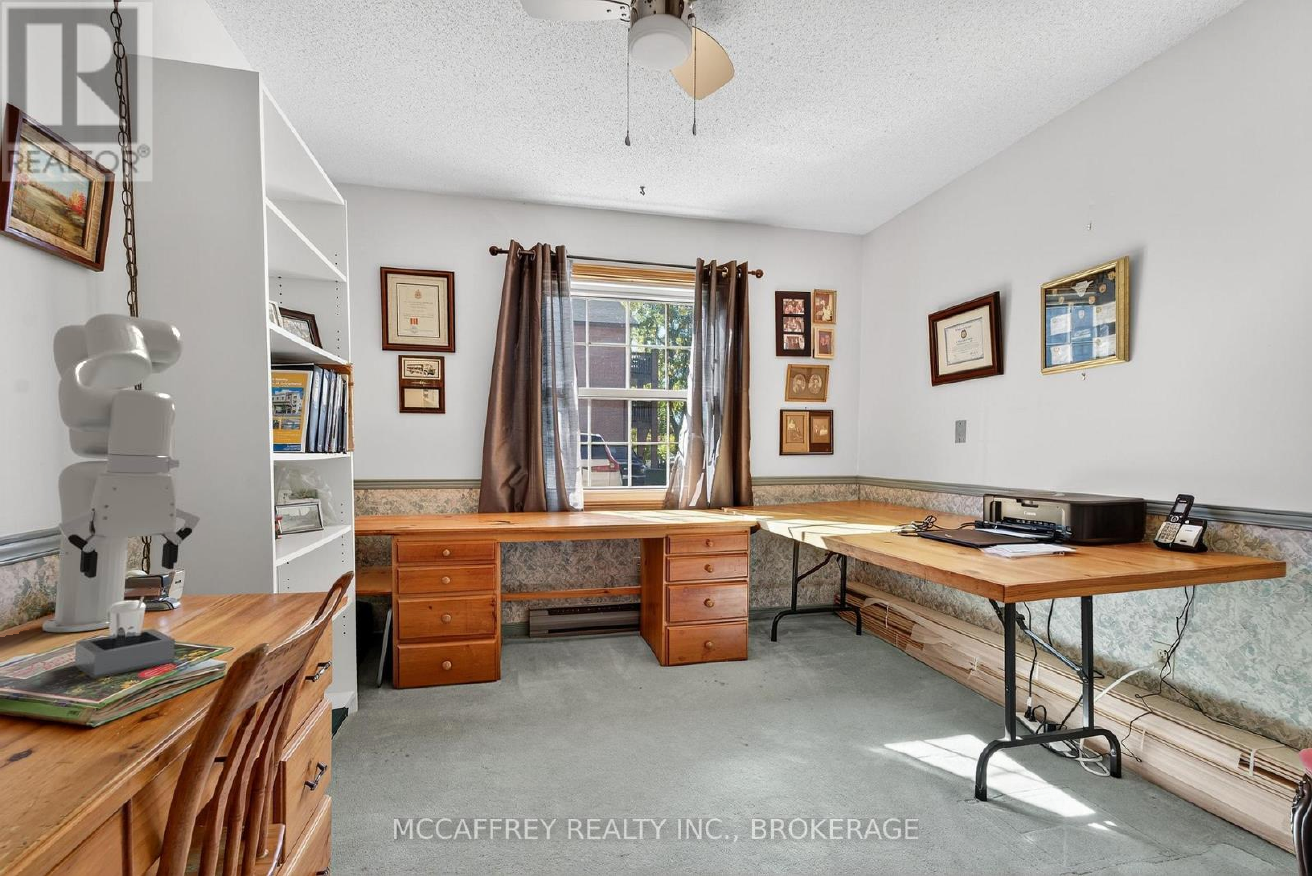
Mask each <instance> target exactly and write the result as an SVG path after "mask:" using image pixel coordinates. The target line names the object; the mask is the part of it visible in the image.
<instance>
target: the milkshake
mask: <svg viewBox="0 0 1312 876" xmlns="http://www.w3.org/2000/svg"><path fill="white" fill-rule="evenodd" d="M144 599H145V596H140V599H139V600H137V599H135V600H124V601H121V602H118V603H114V604H113V605H111V606H110V607H109V608H108V621H109V627H108V628H109V636H110V649H115V648H120V647H126V646H131V645H136V644H139V642H140V635H141V631H142V627H143V623H144V617H145V612H146V604H145V602H143V600H144Z"/></svg>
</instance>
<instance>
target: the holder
mask: <svg viewBox="0 0 1312 876" xmlns="http://www.w3.org/2000/svg"><path fill="white" fill-rule="evenodd" d="M175 640H176V639H175V638H173V637H171V636H169V635H166V634H164V633H162V632H161V631H159V630H157V629H155V628H151V629H149V628H148V629H143V630H141V635H140V642H139V644H136V645H131V646H126V647H120V648H115V649H110V635H109V636H103V637H98V638H90V639H86V640H80V641H76V642H75V654H74V655H75V656H74V666H75V667H77V668H78V669H79V670H80V671H82V672H83V673H85V674H86V675H87V676H89V677H90V678H91V679H93V680H95V679H99V678H100V679H101V678H104V677H109V676H114V675H119V674H122V673H128V672H133V671H137V670H142V669H146V668H150V667H155V666H160V665H166V664H170V663H173V662H174V660H175V658H174V656H175V646H176V645H175V642H176V641H175Z"/></svg>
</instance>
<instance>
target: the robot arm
mask: <svg viewBox="0 0 1312 876" xmlns="http://www.w3.org/2000/svg"><path fill="white" fill-rule="evenodd" d="M183 343H184V342H183V337H182V334H181V333H180V331H179V330H178V329H177V327H175V325H173V324H171V323H169V322H165V321H160V320H156V319H149V318H143V317H138V316H137V317H136V316H131V315H126V314H119V313H102V314H98V315H94V316H92V317H91V318H90V319H88V320H87V321H86V323H85V324H71V325H65V326H63V327H60V328H59V329H58V330H57V331H56V332H55V335H54V337H53V345H52V347H53V349H52V350H53V357H54V362H55V365H56V366H55V367H56V369H57V372H58V374H59V376H60V381H59V384H58V389H57V390H58V391H57V392H58V405H59V414H60V417H61V419H62V422H63V424H64V425H65V426H66V427H67V428H68V434H69V435H68V437H69V444H70V445H69V446H70V449H71V450H72V452H73V453H74V454H75V455H76V456H78V457H81V458H86V459H93V460H90V461H89V460H88V461H80V462H76V463H75V462H74V463H73V464H71V465H68V466H67V467H64V469H63V470H61V472H60V474H59V477H58V487H57V488H58V494H59V502H60V511H61V512H60V513H61V522H60V523H59V524H58V525H57V527H58V529H59V530H60V531H61V533H60V547H59V560H58V562H59V563H58V571H57V572H58V573H57V586H56V587H57V588H56V598H55V600H56V601H55V611H54V612H55V613H54V617H53V618H50V619H47V620H45V621H44V622H43V623H42V630H43V631H44V632H49V633H79V632H86V631H94V630H101V629H106V628H109V621H108V608H109V607H110V606H111V605H113V604H114V603H118V602H121V601H125V589H126V588H125V586H126V576H127V575H126V572H127V558H128V543H129V538H138V537H153V536H161V537H162V538H164V540H166V542H164V543H163V544H162V555H161V556H162V557H161V567H162V568H163V569H167V570H174V569H175V568H174V566H175V564H176V563H177V562H178V557H179V545H181V544H182V543H183V541H184V540H185V539H187V538H188V537H189V536H190V535H191V534H192V533H193V530H194V529H195V528H196V527H197V525H198V523H199V522H200V517H199V516H197V515H194V514H191V513H190V512H186V511H183V510H181V509H179V508H177V499H176V496H177V492H178V472H177V471H178V470H177V468H179V467H180V460H179V459H177V458H176V456H177V455H176V446H175V442H176V441H175V434H174V429H173V425H174V423H175V418H176V407H175V405H174V400H173V398H172V396H171V395H169V394H168V393H165V392H162V391H161V392H160V391H155V390H153V391H152V390H142V389H129V388H132V387H134V386H139V385H140V384H142V383H143V382H145V381H146V380H147V379H148V378H149V377H150V375H151V374H152V375H153V374H160V373H163V372H164V371H166V370H168V369H170V368H171V367H172V366H174V365H175V364H176V363H177V362H178V361H179V360H180V358H181V356H182V352H183V349H184V348H183ZM95 459H97V460H95ZM99 459H100V460H99ZM177 518H178V519H180V520H183V521H184V525H183V526H182V527H181V528H180V529H179V530H177V531H176V532H175V531H174V530H175V528H176V524H177Z"/></svg>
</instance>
